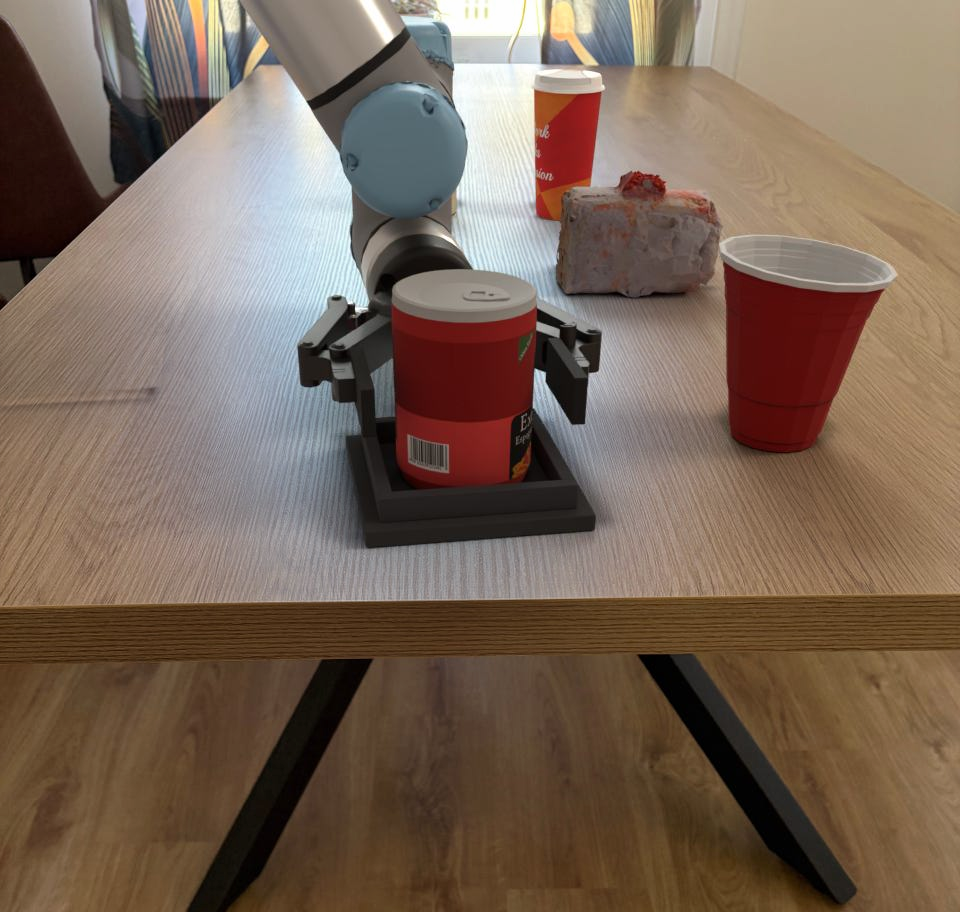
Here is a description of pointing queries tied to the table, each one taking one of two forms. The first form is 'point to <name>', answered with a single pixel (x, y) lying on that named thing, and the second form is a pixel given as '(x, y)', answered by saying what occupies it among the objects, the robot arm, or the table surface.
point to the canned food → (463, 377)
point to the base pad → (463, 496)
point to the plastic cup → (792, 332)
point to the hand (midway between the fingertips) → (476, 407)
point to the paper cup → (564, 134)
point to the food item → (637, 238)
